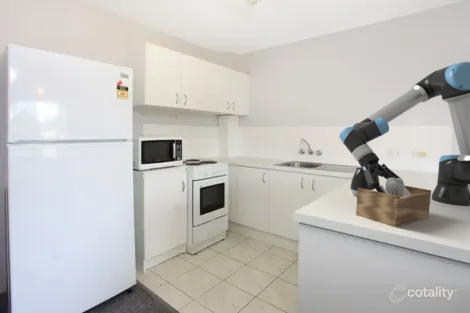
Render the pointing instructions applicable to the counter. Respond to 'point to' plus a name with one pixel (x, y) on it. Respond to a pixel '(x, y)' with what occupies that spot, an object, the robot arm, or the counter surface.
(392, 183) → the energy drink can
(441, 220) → the counter surface
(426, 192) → the oak crate
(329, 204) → the counter surface
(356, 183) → the black tall egg shape
